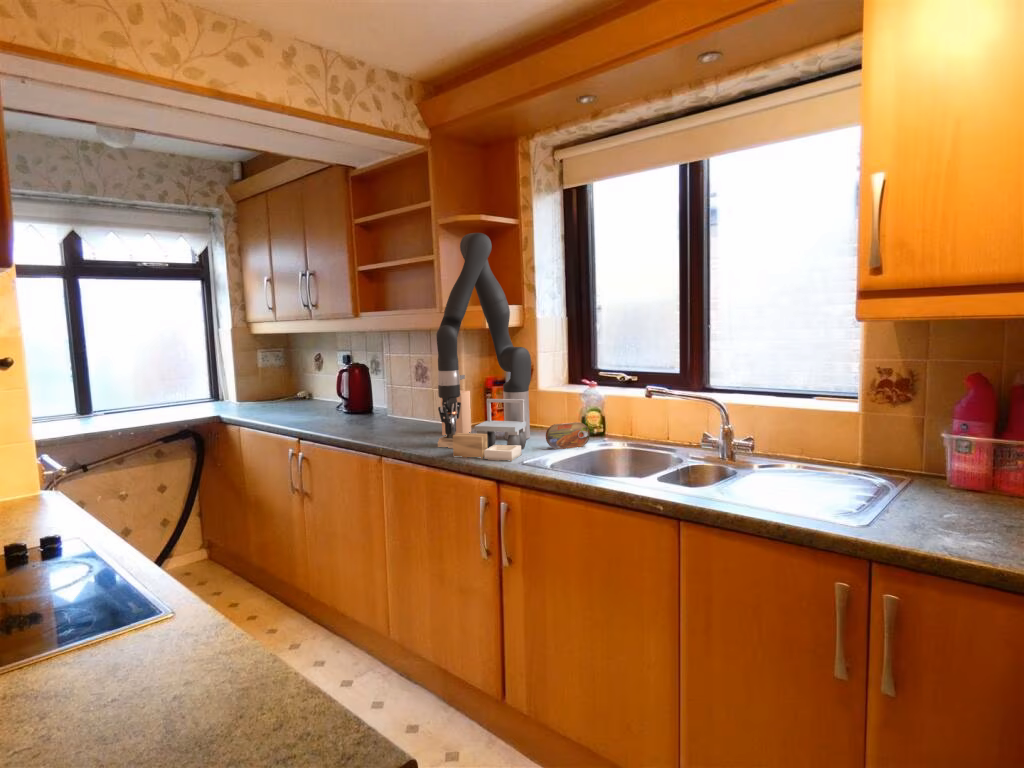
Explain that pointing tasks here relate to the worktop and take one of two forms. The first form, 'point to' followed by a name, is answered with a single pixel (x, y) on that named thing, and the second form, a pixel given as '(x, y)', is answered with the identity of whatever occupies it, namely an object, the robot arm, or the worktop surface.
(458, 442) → the block
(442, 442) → the pin block
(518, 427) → the trolley
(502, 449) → the tray
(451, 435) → the pin
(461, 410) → the soap dispenser
